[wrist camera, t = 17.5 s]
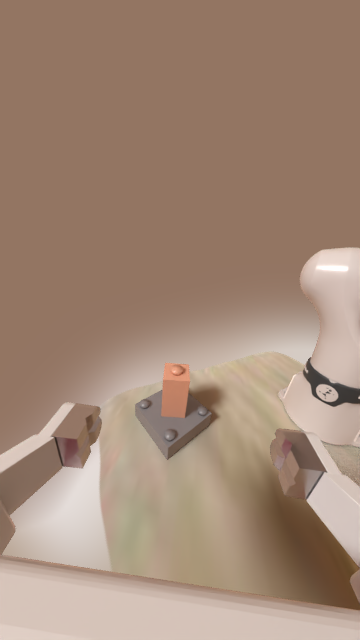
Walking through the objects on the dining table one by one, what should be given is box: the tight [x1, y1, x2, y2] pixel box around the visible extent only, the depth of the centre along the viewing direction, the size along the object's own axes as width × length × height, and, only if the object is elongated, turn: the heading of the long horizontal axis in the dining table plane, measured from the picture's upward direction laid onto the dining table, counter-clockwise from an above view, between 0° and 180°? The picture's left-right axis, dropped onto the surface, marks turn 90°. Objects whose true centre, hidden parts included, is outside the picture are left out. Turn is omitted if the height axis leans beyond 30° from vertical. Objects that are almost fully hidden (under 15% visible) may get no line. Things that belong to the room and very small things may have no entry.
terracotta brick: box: [161, 363, 190, 418], centre depth 40 cm, size 5×5×11 cm
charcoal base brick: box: [135, 390, 212, 460], centre depth 42 cm, size 12×12×5 cm
